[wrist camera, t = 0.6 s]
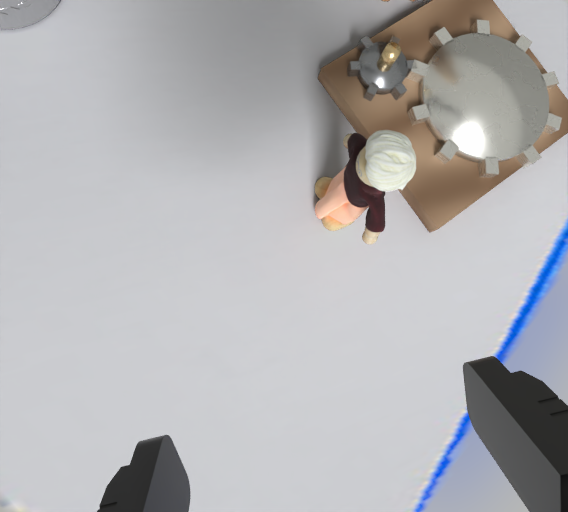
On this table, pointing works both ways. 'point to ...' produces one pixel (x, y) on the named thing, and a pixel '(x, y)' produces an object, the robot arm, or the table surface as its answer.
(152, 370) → the table surface
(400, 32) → the gear board
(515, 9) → the table surface
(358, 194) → the grandmother figurine
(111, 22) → the table surface
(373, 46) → the gear
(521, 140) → the gear
